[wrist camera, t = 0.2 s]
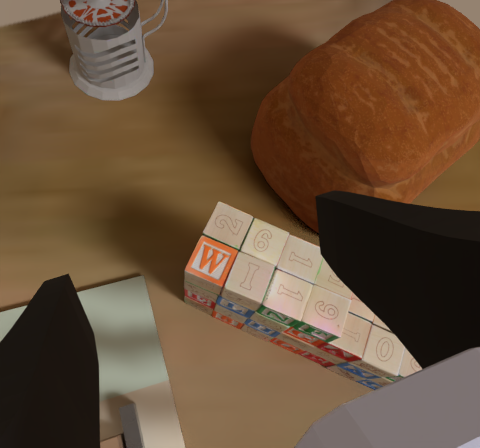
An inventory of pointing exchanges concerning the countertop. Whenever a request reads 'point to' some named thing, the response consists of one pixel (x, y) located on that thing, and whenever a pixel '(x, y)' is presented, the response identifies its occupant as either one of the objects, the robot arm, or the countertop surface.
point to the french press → (108, 47)
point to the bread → (373, 108)
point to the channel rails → (131, 426)
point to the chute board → (126, 361)
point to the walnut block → (113, 442)
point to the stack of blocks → (290, 299)
